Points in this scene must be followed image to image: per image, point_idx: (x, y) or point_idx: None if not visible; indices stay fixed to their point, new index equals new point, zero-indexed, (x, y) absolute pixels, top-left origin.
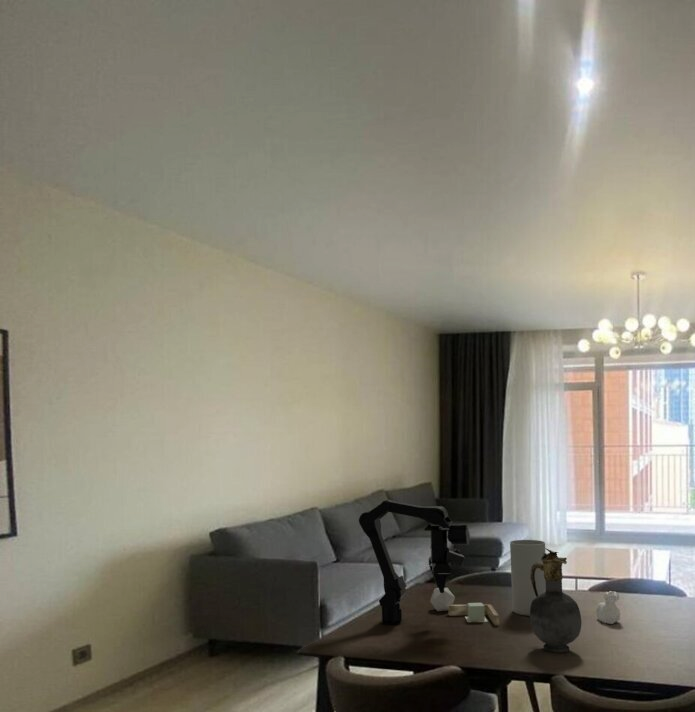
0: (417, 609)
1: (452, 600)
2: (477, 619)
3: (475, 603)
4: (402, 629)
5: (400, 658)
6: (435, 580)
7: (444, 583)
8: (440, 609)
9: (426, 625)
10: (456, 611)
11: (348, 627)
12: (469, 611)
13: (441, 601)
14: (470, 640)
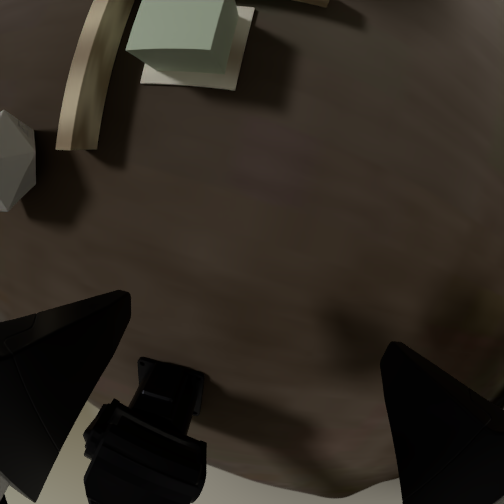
0: (16, 249)
1: (14, 122)
2: (230, 41)
3: (152, 11)
4: (271, 381)
5: (486, 397)
6: (100, 374)
7: (466, 397)
8: (35, 174)
9: (236, 293)
10: (92, 113)
11: (211, 461)
12: (198, 60)
13: (19, 176)
14: (486, 201)
